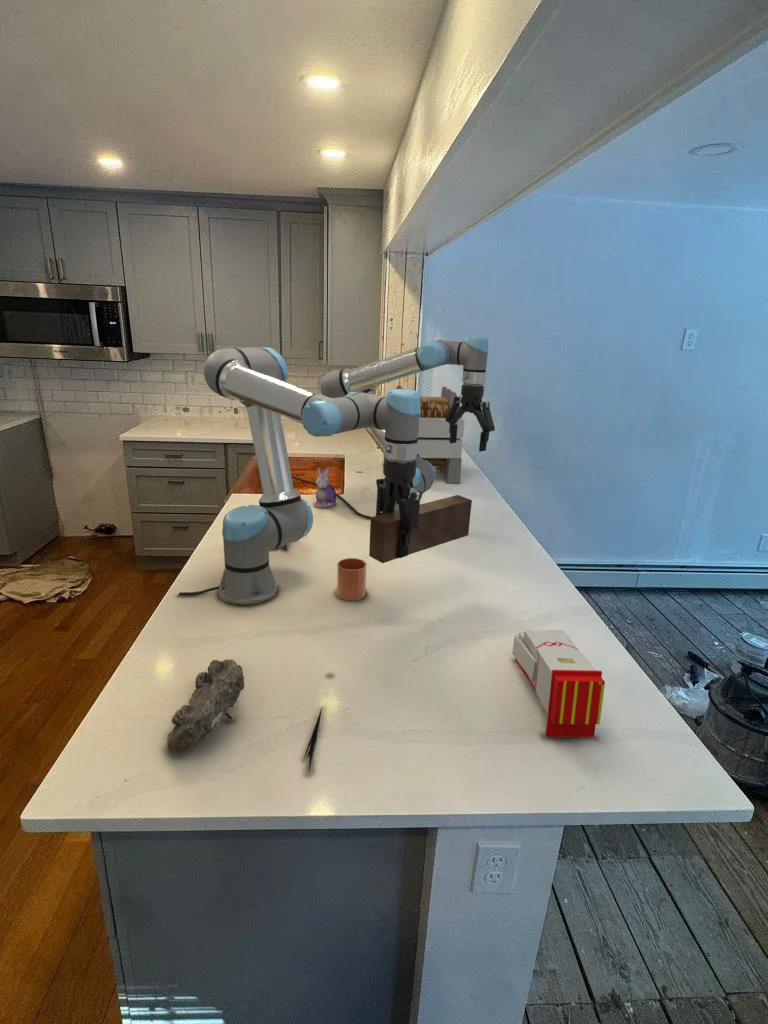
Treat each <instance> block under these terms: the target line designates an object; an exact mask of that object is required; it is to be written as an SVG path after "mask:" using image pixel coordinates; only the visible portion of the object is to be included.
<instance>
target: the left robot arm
mask: <svg viewBox="0 0 768 1024" xmlns="http://www.w3.org/2000/svg"><path fill="white" fill-rule="evenodd" d="M203 376H204V380H205V383H206V385H207V386H208V388H209V389H210V390H211V391H212V392H213V393H214V394H216V395H219V396H220V397H222V398H225V399H228V400H232V401H237V400H239V403H241V404H242V405H243V406H244V407H245V408H246V412H247V417H248V421H249V428H250V432H251V437H252V438H251V439H252V444H253V447H254V453H255V459H256V464H257V469H258V475H259V480H260V483H261V484H260V485H261V491H262V495H261V496H260V498H259V499H258V504H259V505H256V504H250V505H243V506H238V507H236V508H233V509H231V510H229V511H228V512H227V513H226V514H225V515H224V516H223V519H222V530H221V534H222V541H223V542H222V543H223V557H224V558H223V559H224V570H223V573H222V577H221V579H220V584H219V585H217V586H214V587H209V588H206V589H203V590H199V591H188V592H187V591H183V592H181V591H180V592H178V595H179V596H197V595H201V594H202V595H203V594H206V593H209V592H213V591H217V590H218V594H219V595H218V596H219V598H220V599H221V600H222V601H223V602H225V603H227V604H230V605H234V606H255V605H259V604H263V603H265V602H268V601H270V600H271V599H273V598H274V597H275V596H276V595H277V591H278V588H277V587H278V586H277V585H278V579H276V578H275V576H274V573H273V571H272V568H271V566H270V552H272V551H275V550H277V549H279V548H282V547H284V545H287V544H288V545H289V543H290V544H292V543H296V542H298V541H300V540H301V539H304V538H305V537H307V536H308V535H309V533H310V532H311V530H312V527H313V523H314V514H313V510H312V507H311V506H310V505H308V504H309V503H308V502H307V500H305V499H304V498H302V496H301V493H300V492H299V491H297V490H296V489H295V488H294V483H293V478H292V476H293V475H292V471H291V465H290V460H289V454H288V449H287V443H286V439H285V432H284V427H283V421H282V417H284V418H286V419H289V420H291V421H293V422H296V423H299V424H301V425H302V426H303V429H304V430H306V432H307V434H308V435H310V436H312V437H315V438H319V437H330V436H333V435H337V434H341V433H345V432H350V431H355V430H361V429H365V428H366V427H369V428H375V429H380V430H385V448H384V453H383V458H384V457H385V460H384V459H383V463H384V464H383V465H382V473H383V476H385V477H382V478H377V479H376V480H375V484H376V490H377V491H376V502H375V504H376V505H375V516H377V515H381V514H385V513H389V512H392V511H394V507H395V504H396V501H397V504H398V505H399V513H400V521H401V530H402V531H399V538H398V554H397V557H398V558H397V559H402V558H405V557H408V556H409V555H408V545H410V538H411V533H412V532H415V531H418V524H419V508H420V504H421V499H422V497H423V494H422V492H421V491H418V492H417V491H416V490H415V489H414V485H413V478H414V477H415V475H416V461H415V459H416V458H417V447H418V429H419V419H420V413H421V410H420V397H421V394H420V393H419V391H417V390H414V389H404V388H403V389H396V388H394V389H393V388H392V389H389V390H387V393H386V396H383V395H378V394H373V395H372V394H367V393H365V392H350V393H348V394H347V395H346V396H345V397H340V398H329V397H326V396H323V395H322V394H320V393H318V392H316V391H312V390H309V389H307V388H304V387H301V386H298V385H296V384H293V383H291V382H288V379H289V378H288V377H289V371H288V367H287V363H286V361H285V359H284V358H283V356H282V355H281V353H279V352H278V351H277V350H276V349H274V348H271V347H268V346H267V347H266V346H265V347H264V346H245V347H223V348H220V349H217V350H215V351H214V352H213V353H211V354H210V355H209V356H208V358H207V359H206V361H205V363H204V367H203ZM402 499H405V500H402ZM288 545H287V546H288Z"/></svg>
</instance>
